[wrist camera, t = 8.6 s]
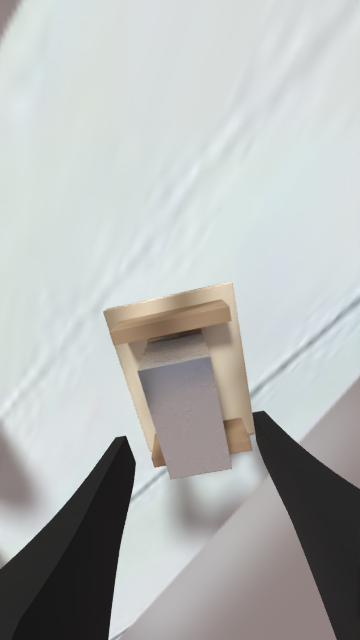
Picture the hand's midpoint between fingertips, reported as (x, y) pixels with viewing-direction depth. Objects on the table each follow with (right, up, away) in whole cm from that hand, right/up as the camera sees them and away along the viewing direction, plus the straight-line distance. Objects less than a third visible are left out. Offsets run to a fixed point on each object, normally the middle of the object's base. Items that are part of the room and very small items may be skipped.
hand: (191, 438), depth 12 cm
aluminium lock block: (0, +2, +6) cm, 6 cm away
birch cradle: (0, +2, +7) cm, 7 cm away
